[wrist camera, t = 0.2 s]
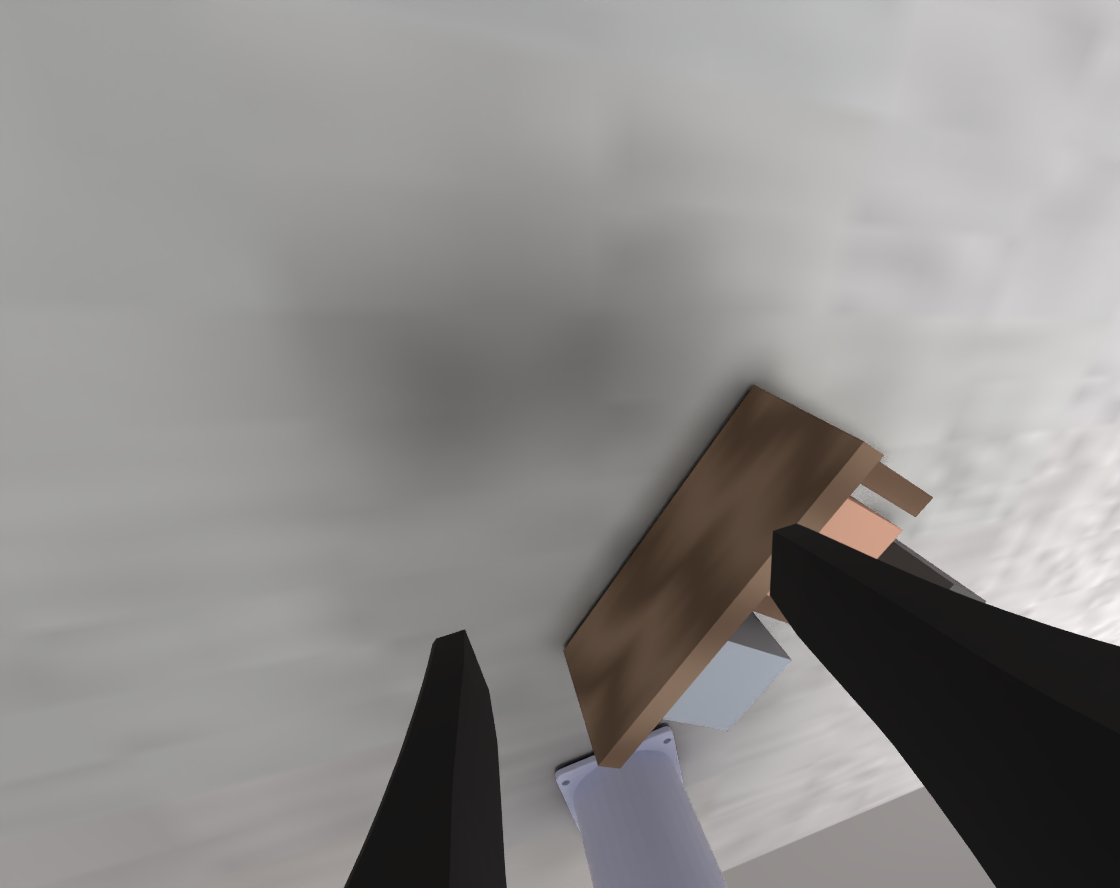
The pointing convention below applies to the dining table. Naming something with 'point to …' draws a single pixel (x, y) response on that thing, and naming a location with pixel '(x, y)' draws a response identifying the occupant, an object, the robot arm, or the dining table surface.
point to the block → (732, 678)
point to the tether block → (884, 544)
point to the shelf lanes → (713, 563)
